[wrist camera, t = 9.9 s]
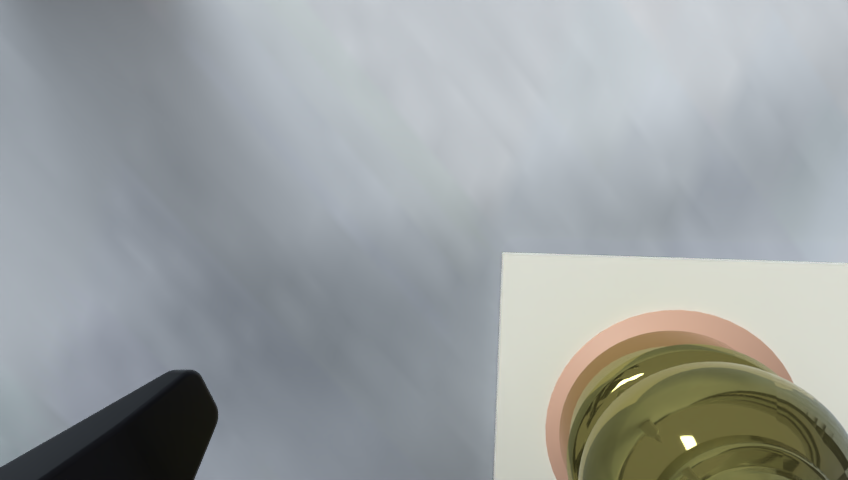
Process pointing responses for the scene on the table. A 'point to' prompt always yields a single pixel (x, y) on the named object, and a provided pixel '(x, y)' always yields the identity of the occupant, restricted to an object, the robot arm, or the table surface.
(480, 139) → the table surface
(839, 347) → the card
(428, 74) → the table surface
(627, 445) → the brass door knob
